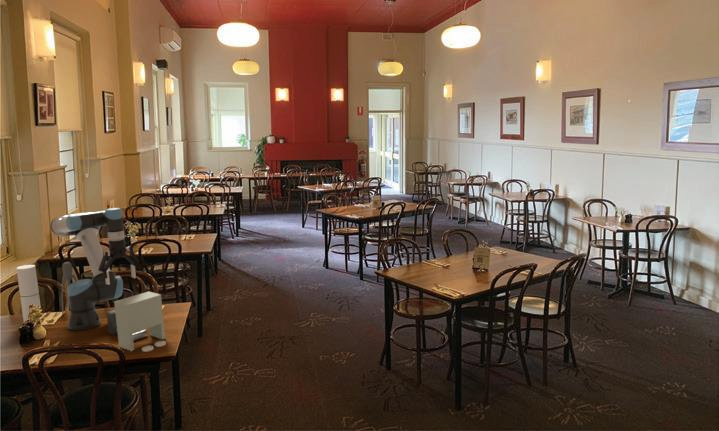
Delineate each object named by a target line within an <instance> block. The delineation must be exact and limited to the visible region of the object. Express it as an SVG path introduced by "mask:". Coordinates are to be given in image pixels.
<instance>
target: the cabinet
mask: <svg viewBox="0 0 719 431" xmlns="http://www.w3.org/2000/svg"><path fill="white" fill-rule="evenodd" d="M113 303H114V310H115V314H116V323H117V332H118V334H117V340H118V347H119V348H121V349H124V350H126V349H127V351H129V350H130V351H129V352H133V350H134V351H135V346H134V345H135V344H134V341H133V333H137V332H140V331H142V330H147V329H148V330H149V336H151V337H154V338H156V339H159V340H161V341H164V340H165V339H166V333H165V332H166V331H165V322H164V314H163V312H164V311H163V303H162V294H160V293H156V292H152V291H149V290H148V291H145V292H142V293H138V294H135V295H131V296H129V297H125V298H122V299H118V300H115V301H113Z"/></svg>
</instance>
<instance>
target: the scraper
mask: <svg viewBox="0 0 719 431" xmlns="http://www.w3.org/2000/svg"><path fill="white" fill-rule="evenodd" d="M106 318H107V330H108V333H109V334H110V335H112V336H115V335H118V332H117V323H116V314H115V309H112V310H109V311H106ZM147 336H148V331H147V329H145V330H142V331H139V332H136V333H133V342H134V341H138V340H139V339H142V338H145V337H147Z"/></svg>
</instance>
